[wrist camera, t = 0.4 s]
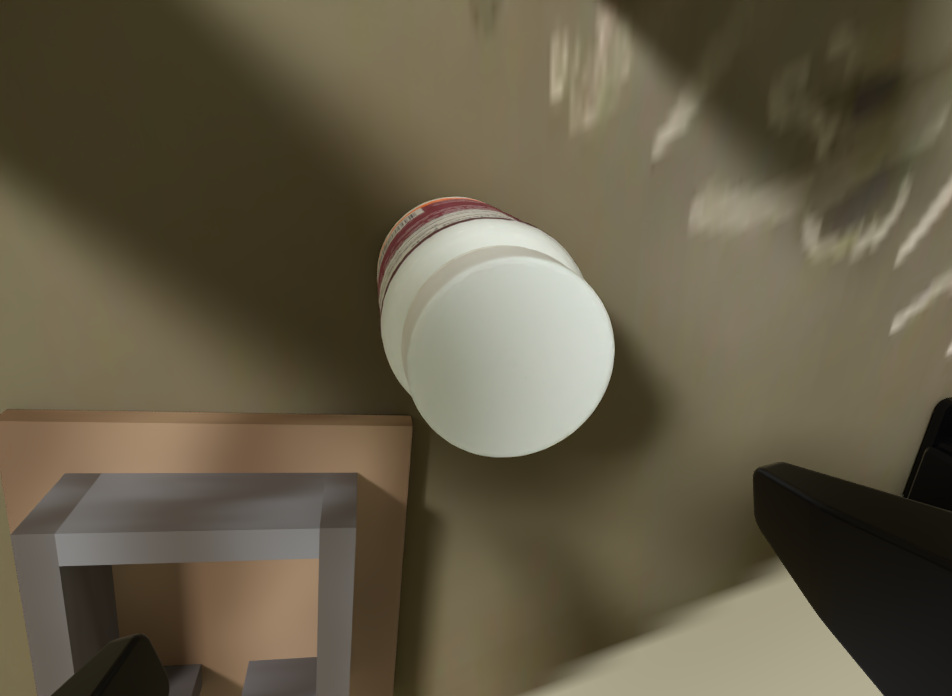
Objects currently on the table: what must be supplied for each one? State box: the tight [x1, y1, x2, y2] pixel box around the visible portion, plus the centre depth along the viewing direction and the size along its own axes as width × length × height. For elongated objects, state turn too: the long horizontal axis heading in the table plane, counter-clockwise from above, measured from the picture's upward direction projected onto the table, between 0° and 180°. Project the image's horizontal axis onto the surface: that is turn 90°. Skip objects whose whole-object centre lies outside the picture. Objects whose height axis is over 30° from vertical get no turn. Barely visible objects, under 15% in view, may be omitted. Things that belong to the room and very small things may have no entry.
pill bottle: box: [377, 197, 615, 457], centre depth 15 cm, size 5×5×8 cm
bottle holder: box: [0, 409, 413, 696], centre depth 19 cm, size 12×12×4 cm
